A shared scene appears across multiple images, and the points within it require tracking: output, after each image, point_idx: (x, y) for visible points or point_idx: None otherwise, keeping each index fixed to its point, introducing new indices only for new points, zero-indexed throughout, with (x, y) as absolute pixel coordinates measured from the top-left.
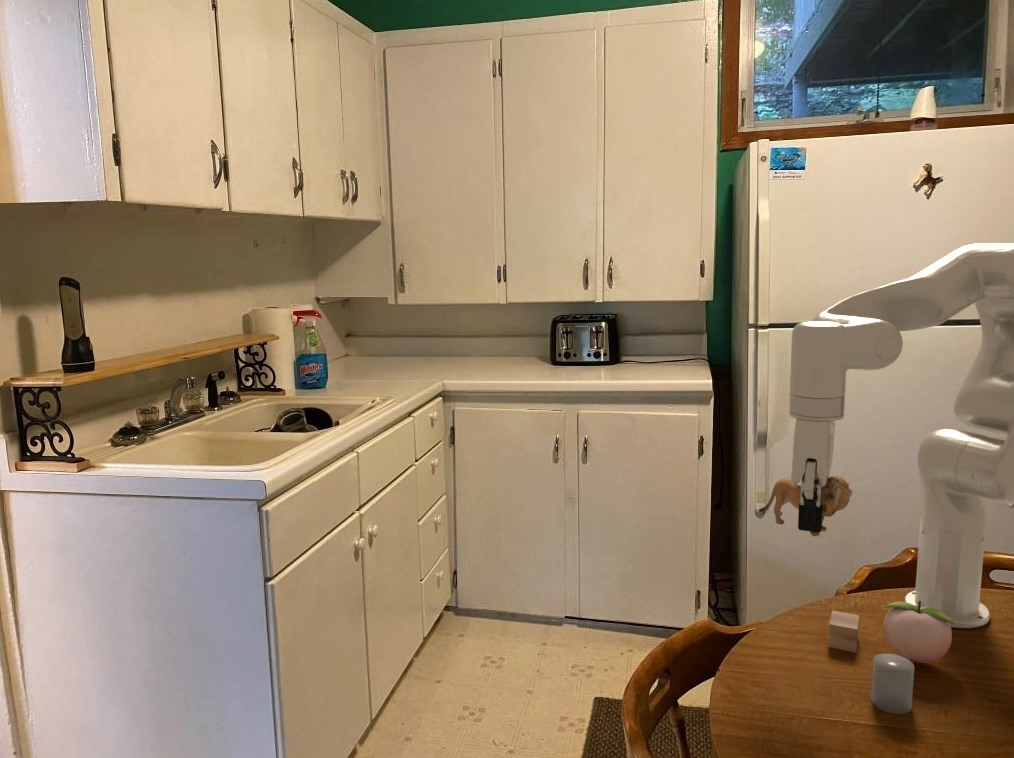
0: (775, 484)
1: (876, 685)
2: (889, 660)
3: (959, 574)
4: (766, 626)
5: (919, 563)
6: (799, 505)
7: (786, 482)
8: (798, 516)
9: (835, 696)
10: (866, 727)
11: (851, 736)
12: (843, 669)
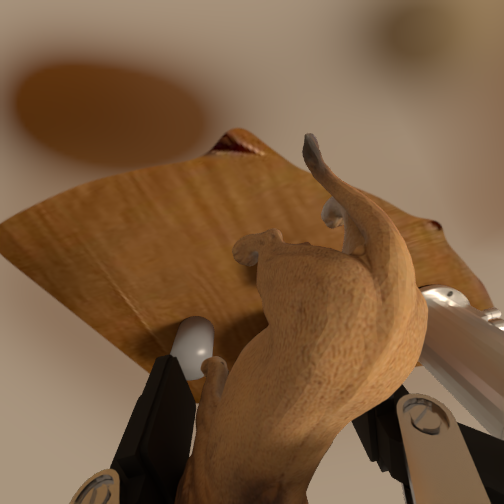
0: (380, 245)
1: (176, 337)
2: (192, 358)
3: (442, 382)
4: (277, 167)
5: (468, 336)
6: (122, 451)
7: (312, 389)
8: (141, 396)
9: (169, 290)
10: (138, 327)
11: (112, 322)
12: (229, 279)
